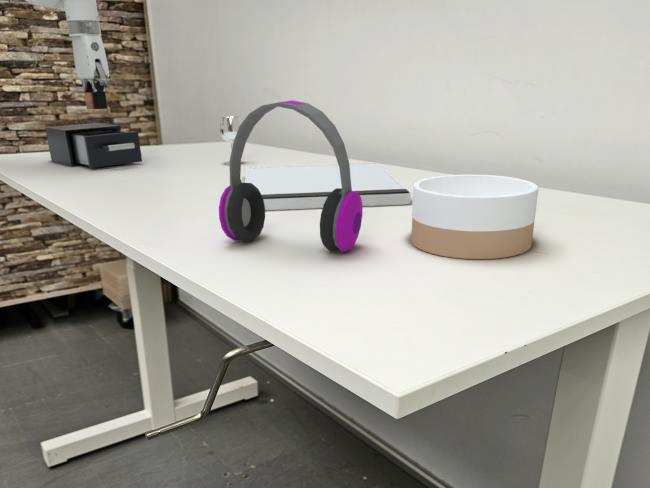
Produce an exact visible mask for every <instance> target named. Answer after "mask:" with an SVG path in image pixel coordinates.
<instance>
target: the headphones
mask: <svg viewBox="0 0 650 488" xmlns="http://www.w3.org/2000/svg"><path fill="white" fill-rule="evenodd" d="M276 108H283V109H287V110H288V109H289V110H293V111H295V112H296V113H299V114H300V115H302V116H304V117H305V118H308V119H309V121H311V123H313V124H314V125H315V126H316V127H317V128H318V129H319V130H320V131H321V133H322V134H323V135H324V137H325V138H326V140H327V142H328V143H329V144H330V146H331V148H332V150H333V152H334V156H335V158H336V163H337V164H338V165H339V169H340V177H341V185H342V189H341V188H336V189H335V190H333V191H332V192H331V193H330V194H329V195H328V197H327V199H326V201H325V203H324V206H323V208H321V209H322V210H321V213H320V219H319V237H320V240H321V244H322V245H323V247H325V249H326V250H328V251H331V252H332V251H333V252H334V251H338V250H339V251H340V252H341V253H346V252H349V251H351V250H352V249H353V248H354V246H355V245H356V242H357V240H358V238H359V234H360V231H361V228H362V221H363V209H364V208H363V207H364V206H363V205H362V200H361V197H360V195H359V194H358V193H357V192H355V191H352V187H351V177H350V165H349V164H350V161H349V156H348V153H347V149H346V145H345V142H344V140H343V138H342V136H341V135H340V133H339V131H338V128H337V127H336V125H335V124H334V123H333V121H332V120H331V119H330V118H329V117H328V116H327V115H326V113H324V112H323V111H322V110H321V109H319V108H318V107H315V106H314V105H312V104H310V103H309V102H305V101H299V100H293V99H291V100H286V101H285V100H284V101H279V102H274V103H267V104H262V105H261V106H259V107H257V108H256V109H254V110H252V111H251V112H250V113H248V114H247V116H246V117H245V118H244V119H243V121H242V122H241V125H240V126H239V129H238V131H237V134H236V137H235V139H234V142H233V146H232V149H231V152H230V156H229V163H230V165H229V185H228V186H227V187H226V188H224V190H223V191H222V194H221V195H220V200H219V205H218V219H219V223H220V227H221V229H222V231H223V233H224V234H225V236H226V237H227V238H229V239H230V240H232V241H234V242H235V241H241V242H244V243H249V242H253V241H255V240H256V239H257V238H258V237H259V236H260V235H261V233H262V231H263V229H264V226H265V220H266V210H265V205H264V200H263V197H262V195H261V193H260V191H259V189H258V188H257V187H256V186H254V185H253V184H252V183H244V182H242V179H241V171H242V164H241V163H242V158H243V155H244V152H245V151H244V150H245V147H246V144H247V141H248V139H249V137H250V135H251V133H252V132H253V130H254V128H255V126H256V125H257V124H258V123H259V122H260V120H261V119H262V118H263V117H264V116H265V115H266V114H267V113H269V112H272V111H273V110H275V109H276Z"/></svg>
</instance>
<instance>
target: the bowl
mask: <svg viewBox="0 0 650 488" xmlns="http://www.w3.org/2000/svg"><path fill="white" fill-rule="evenodd" d="M538 195H539V186H538V185H537V184H536V183H534V182H532V181H529V180H526V179H522V178H518V177H512V176H505V175H493V174H447V175H446V174H445V175H437V176H431V177H426V178H422V179H420V180H418V181H416V182H414V183H413V186H412V204H411V205H412V207H411V208H412V209H411V243H412V245H413V246H414V247H416V248H417V249H419V250H421V251H422V252H426V253H429V254H432V255H436V256H440V257H446V258H453V259H465V260H495V259H503V258H510V257H515V256H518V255H522V254H524V253H526V252H528V251H530V249H531V247H532V244H533V236H534V228H535V220H536V214H537V204H538V197H539V196H538Z"/></svg>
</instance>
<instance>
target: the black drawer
mask: <svg viewBox="0 0 650 488" xmlns="http://www.w3.org/2000/svg"><path fill="white" fill-rule="evenodd" d="M69 139H70V145H71V150H72V156H73V161H74V162H77V163H81V164H85V165H84V166H88V168H89V169H95V168H102V167H110V166H118V165H119V166H120V165H126V164H134V163H141V162H143V157H142V150H141V144H140V135H139V131H136V130H135V131H126V130H121V131H119V130H104V131H93V132H83V133H72V134H69Z"/></svg>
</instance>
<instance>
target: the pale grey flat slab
mask: <svg viewBox="0 0 650 488" xmlns="http://www.w3.org/2000/svg"><path fill="white" fill-rule="evenodd" d="M349 165H350V177H351V187H352V191H355V192H357V193H358V194H359V195H360V197H361V200H362V205H363V207H377V206H379V207H380V206H400V205H404V206H405V205H411V197H412V196H411V195H412V194H411V191H410V190H409V189H408V188H407V187H406V186H404V185H403V184H402V183H401V182H400V181H399V180H398V179H397V178H395V177H394V175H392V173H390V172H389V171H388V170H387V169H386V168H384V167H383V165H381V164H380V162H361V163H349ZM243 183H252V184H253V185H254V186H256V187H257V188H258V189H259V191H260V193H261V195H262V197H263V200H264V205H265V211H283V210H307V209H309V210H311V209H323V206H324V203H325V201H326V199H327V197H328V195H329V194H330V193H331V192H332V191H333V190H335V189H336V188H341V189H342V185H341V177H340V169H339V165H338V163H334V164H312V165H311V164H307V165H306V164H305V165H278V166H255V167H254V166H253V167H246V169H245V177H244V181H243Z"/></svg>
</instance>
